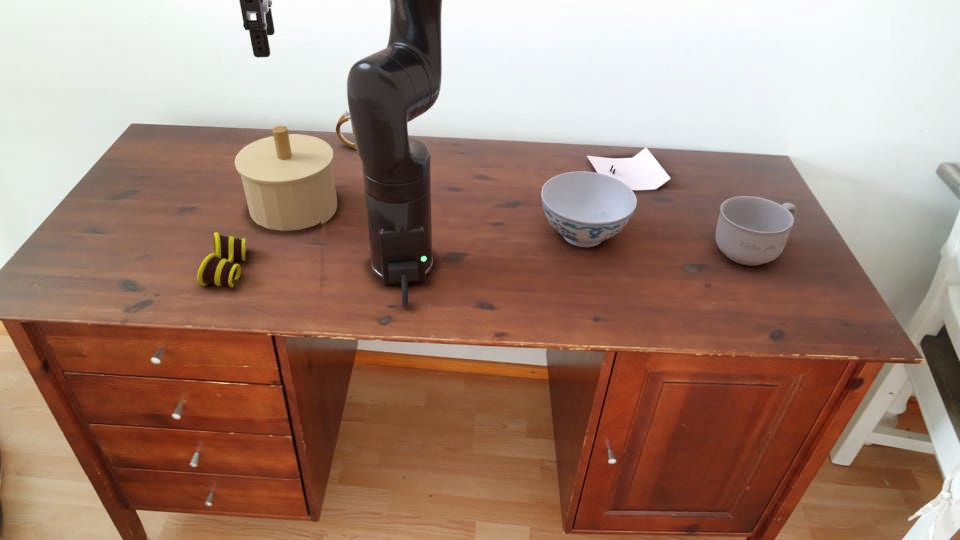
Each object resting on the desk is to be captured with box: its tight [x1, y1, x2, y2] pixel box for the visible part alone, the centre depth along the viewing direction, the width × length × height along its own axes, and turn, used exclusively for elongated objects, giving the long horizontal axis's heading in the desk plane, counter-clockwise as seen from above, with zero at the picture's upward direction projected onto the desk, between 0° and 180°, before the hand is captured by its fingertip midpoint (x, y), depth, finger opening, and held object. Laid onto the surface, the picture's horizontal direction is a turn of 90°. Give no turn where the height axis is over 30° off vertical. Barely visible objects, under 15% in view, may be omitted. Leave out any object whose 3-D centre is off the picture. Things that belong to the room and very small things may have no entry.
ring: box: [335, 110, 357, 150], centre depth 126 cm, size 7×3×8 cm, turn 82°
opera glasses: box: [196, 231, 247, 288], centre depth 97 cm, size 10×5×5 cm, turn 4°
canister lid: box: [234, 125, 335, 184], centre depth 104 cm, size 15×15×6 cm
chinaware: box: [540, 170, 638, 248], centre depth 106 cm, size 15×15×8 cm
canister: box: [240, 162, 338, 232], centre depth 109 cm, size 14×15×10 cm
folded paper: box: [586, 147, 671, 191], centre depth 123 cm, size 12×12×2 cm
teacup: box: [715, 195, 798, 266], centre depth 104 cm, size 14×11×8 cm
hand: (265, 45), depth 94 cm, fingers open, 8 cm apart
